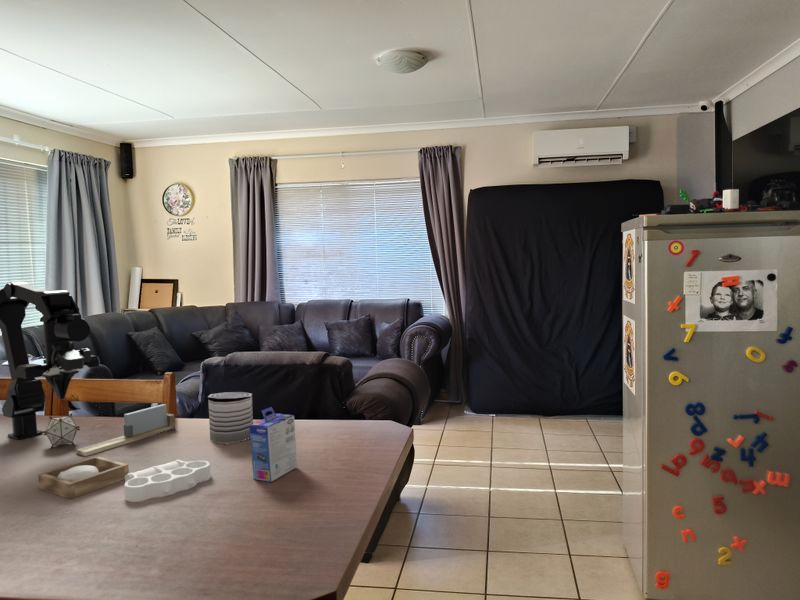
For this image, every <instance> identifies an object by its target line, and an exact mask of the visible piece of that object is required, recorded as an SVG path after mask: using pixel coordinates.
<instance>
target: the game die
mask: <svg viewBox="0 0 800 600" xmlns="http://www.w3.org/2000/svg"><path fill="white" fill-rule="evenodd" d="M72 416H73V412H71V413H70V415H68V416H67V415H66V416H59V417H52V416H50V415H49V416H48V417H49V419H50V420H49V423H48V425H47V427H46V429H45V430H42V431H43V432H42V434H43V435H44V436H47V439H48V440H49V443H50V444H51V446H50V449H51V448H52V449H53V448H54V446H60V445H68V444H71V445H72V446H75V443H74V440H75V437H76V434H77V431H80V430H81V428H80V426H79V425H76V422H75V421H74V419H73V417H72Z"/></svg>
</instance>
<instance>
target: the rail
mask: <svg viewBox="0 0 800 600" xmlns="http://www.w3.org/2000/svg"><path fill="white" fill-rule="evenodd" d="M167 424H168V425H167V426H164V427H161V428H158V429H154V430H151V431H148V432H144V433H141V434H138V435H134V436H133V437H126V436H124V435H122V436H117V437H115V438H111V439H108V440H104V441H101V442H98V443H95V444H92V445H88V446H84V447H81V448H78V449H76V450H75V451H76V454H77V455H79V456H80V455H81V456H83V457H88V456H91V455H94V454H97V453H100V452H103V451H107V450H110V449H115V448H116V447H119V446H123V445H126V444H129V443H133V442H136V441H140V440H143V439H146V438H149V437H152V436H155V435H154V434H156V435H158V434H157V433H159V434H161V433H160V432H162V433H164V432H163V431H165V432H167V430H169V431H171V430H170V429H172V430H174V429H173V428H175V429H176V420H175V414H173V413H168V412H167ZM151 435H152V436H151ZM148 436H149V437H148ZM145 437H146V438H145Z"/></svg>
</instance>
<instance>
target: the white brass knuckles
mask: <svg viewBox="0 0 800 600" xmlns="http://www.w3.org/2000/svg"><path fill="white" fill-rule="evenodd" d="M211 477H212V473H211V463H210V461H206V460H193V461H183V460H182V459H174V460H173V461H170V462H168V463H167V462H166V463H163V464H160V465H153V466H151V467H148V468H145V469H142V470H138V471H134V472H129V473H128V474H127V475H125V479H124V482H125V483H124V485H123V486H124V489H123V490H124V500H126V502H131V503H135V502H138V503H140V502H144V501H146V500H149V499H152V498H153V499H154V498H162V497H167V496H172V495H174V494H176V493H177V492H181V491H186V490H187V491H188V490H189V489H192V488H194V487H195V486H197V483H198V484H200V483H203V482H206V481H209V480H210V479H211ZM202 481H203V482H202ZM199 482H200V483H199Z"/></svg>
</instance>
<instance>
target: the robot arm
mask: <svg viewBox="0 0 800 600" xmlns="http://www.w3.org/2000/svg"><path fill="white" fill-rule="evenodd" d="M30 304H31V305H34V306H35V307H34V308H35V310H36V311H38V312H39V313H41V315H42V316H41V317H40V318H39V321H40V322H42V324H43V337H44V338H43V339H44V343H42V345H41V347H42V349H44V352H45V359H43V363H42V364H39V363H30V361H29V355H28V352H27V351H28V350H27V347H26V346H27V345H26V343H25V336H24V333H23V327H22V324H23V322H24V321H25V318H26V315H27V314H26V309H27V308H28V306H29V305H30ZM0 332H1V337H2V340H3V341H2V342H3V347H4V351H5V355H6V360H7V365H8V369H9V373H10V374H9V375H10V378H11V380H10V382H9V385H8V387H7V390H6V393H7V394H6V395H7V398H6V400H5V402H4V404H3V406H2V407H1V410H2V411H1V412H2V416H3V417H6V418H10V419H11V422H12V423H11V424H12V425H11V426H12V433H8V434H7V437H9V438H12V439H16V440H22V439H26V438H29V437H34V436H37V435H41V434H43V433H42V432H43V431H44V430H39V429H38V424H37V412H38V413H39V412H43V411H44V410H45V406H46V405H45V403H46V393H45V391H44V387H43V382H42V380H41V379H36V378H41V377H44V379H45V380H46V381H47V382H48V383H49V385H50V386H51V387H52V388H51V389H52V390H53V391H54V392H55V395H56V397H57V399H58V400H64V399H65V397H66V394H67V391H68V388H69V385H70V382H71V380H72V378H73V377H74V376H75V375H76V374H79V372H80V370H81V369H84V366H86V367H87V368H90V369H91V368H96V367H100V366H101V365H100V364H101V360H100V358H99V356H97V355H93V354H91V349H89V348H88V347H86V348H80V349H77V350H76V349H75V344H74V342H78V343H79V342H82V341H85V340H86V339H87V338H88V337H89V335H90V333H91V326H90V325H89V323H88V322H87V321H86V320H85V319H83V318H82V314H81V312H80V308H79V306H78V305H77V303H76V302H75V300H74V298H73V296H72V294H71V293H70V292H69V291H68V290H66V289H63V290H62V289H60V290H56V289H54V290H50V289H49V290H48V289H45V288H42V287H39V286H36V285H34V284H30V283H29V282H26V281H14V282H13V281H10V282H7V283H6V284H5V285H4V286H3V288H1V289H0ZM78 369H79V370H78Z"/></svg>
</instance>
